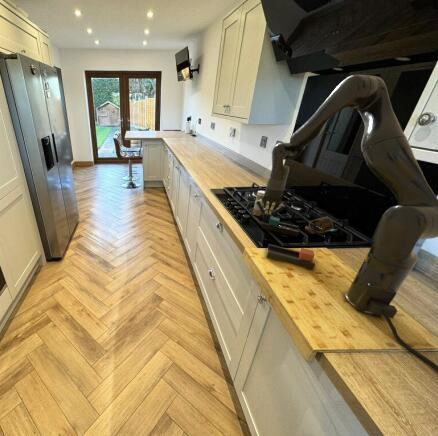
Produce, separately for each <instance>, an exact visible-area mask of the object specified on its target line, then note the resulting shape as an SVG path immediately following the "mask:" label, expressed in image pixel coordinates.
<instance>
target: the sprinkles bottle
mask: <svg viewBox="0 0 438 436" xmlns="http://www.w3.org/2000/svg"><path fill="white" fill-rule="evenodd" d="M264 194H265V190H258V191H257V193H256V198H255V201H254V206H253V210H252V215H254V216H256V217H260V216H261V215H262V212H261V210H260V208H259V207H258V205H257V200H261V199H262V198H263V197H264ZM262 206H263V207H264V204H263V202H262ZM253 212H254V213H253Z"/></svg>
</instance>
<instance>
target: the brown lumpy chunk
mask: <svg viewBox="0 0 438 436" xmlns="http://www.w3.org/2000/svg"><path fill="white" fill-rule="evenodd" d="M312 223H313V226H314V228H313V227H312V226H311V224H312ZM315 226H318V227H320V228H322V229H323V230H324V231H323V230H321V229H319V228H316V227H315ZM334 228H335V227H334V222H333V220H332V219H331V218H330V217H328V216H322V217H318V218H315V219H313V220H311V221H309V223H308V225H305V226H304V230H305V231H306V232H307V233H309V234H311V235H315V234H316V233H317V234H324V233H327V232H331V231H332V230H333V229H334ZM330 230H331V231H330Z"/></svg>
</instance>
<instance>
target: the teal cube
mask: <svg viewBox="0 0 438 436" xmlns="http://www.w3.org/2000/svg"><path fill="white" fill-rule="evenodd" d="M269 220H270V221H269V225H274V226H278V225H279V222H280V217H277V216H276V217H275V216H270V219H269Z"/></svg>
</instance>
